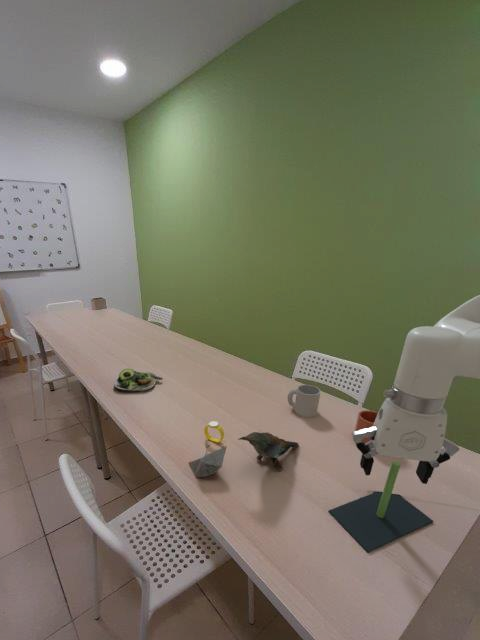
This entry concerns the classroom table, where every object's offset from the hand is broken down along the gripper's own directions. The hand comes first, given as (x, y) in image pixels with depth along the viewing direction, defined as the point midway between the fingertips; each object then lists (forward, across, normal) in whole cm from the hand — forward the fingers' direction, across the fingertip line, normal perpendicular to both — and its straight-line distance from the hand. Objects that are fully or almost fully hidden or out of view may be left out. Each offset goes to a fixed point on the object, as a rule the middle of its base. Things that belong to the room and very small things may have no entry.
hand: (392, 474), depth 59 cm
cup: (+12, -13, +40) cm, 44 cm away
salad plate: (+12, -78, +49) cm, 93 cm away
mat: (+12, 0, 0) cm, 12 cm away
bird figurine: (+12, -23, +13) cm, 29 cm away
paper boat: (+12, -38, +6) cm, 40 cm away
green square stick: (+11, 0, 0) cm, 11 cm away
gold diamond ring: (+12, -39, +18) cm, 45 cm away
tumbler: (+12, +4, +27) cm, 30 cm away
